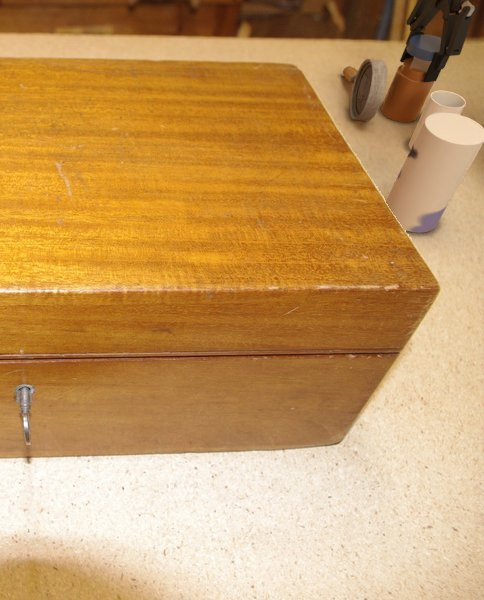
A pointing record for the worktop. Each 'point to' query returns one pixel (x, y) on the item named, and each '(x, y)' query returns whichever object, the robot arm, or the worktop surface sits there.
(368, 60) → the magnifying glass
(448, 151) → the container
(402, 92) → the jar
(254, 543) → the worktop surface
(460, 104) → the mug
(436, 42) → the lid
